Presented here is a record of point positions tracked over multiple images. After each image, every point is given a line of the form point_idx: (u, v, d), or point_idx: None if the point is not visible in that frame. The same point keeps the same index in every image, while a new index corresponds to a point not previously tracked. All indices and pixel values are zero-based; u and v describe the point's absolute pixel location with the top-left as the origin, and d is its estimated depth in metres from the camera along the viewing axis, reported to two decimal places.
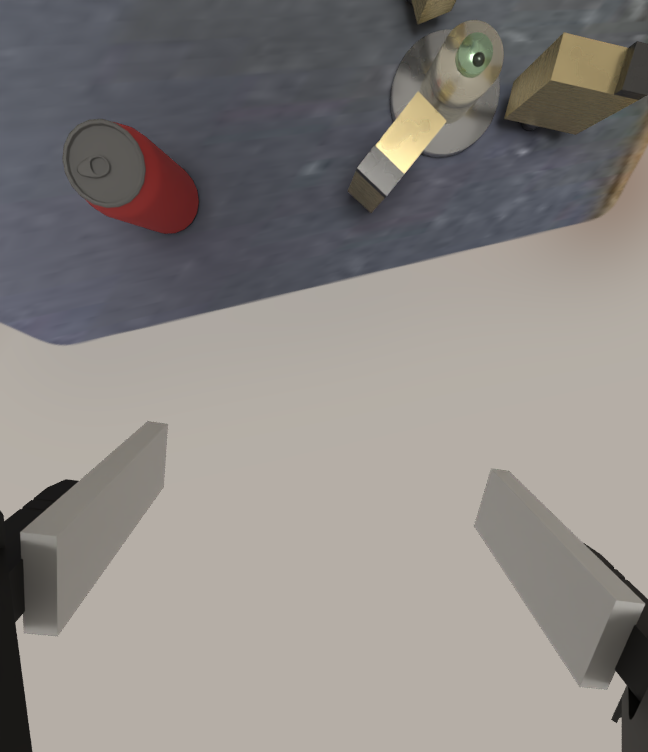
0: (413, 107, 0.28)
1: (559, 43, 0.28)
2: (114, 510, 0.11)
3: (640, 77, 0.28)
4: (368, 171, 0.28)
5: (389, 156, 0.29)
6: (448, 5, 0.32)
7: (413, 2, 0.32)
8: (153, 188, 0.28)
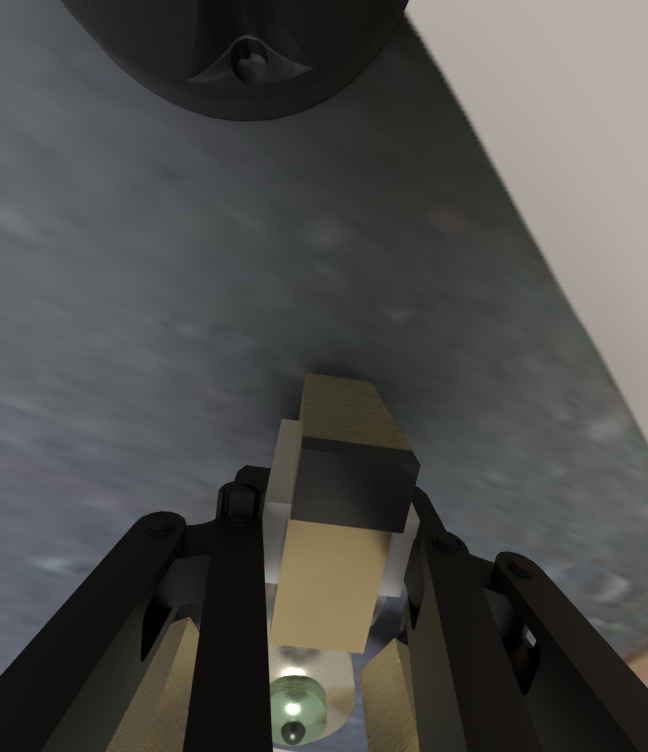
0: None
1: None
2: None
3: None
4: None
5: None
6: None
7: None
8: None
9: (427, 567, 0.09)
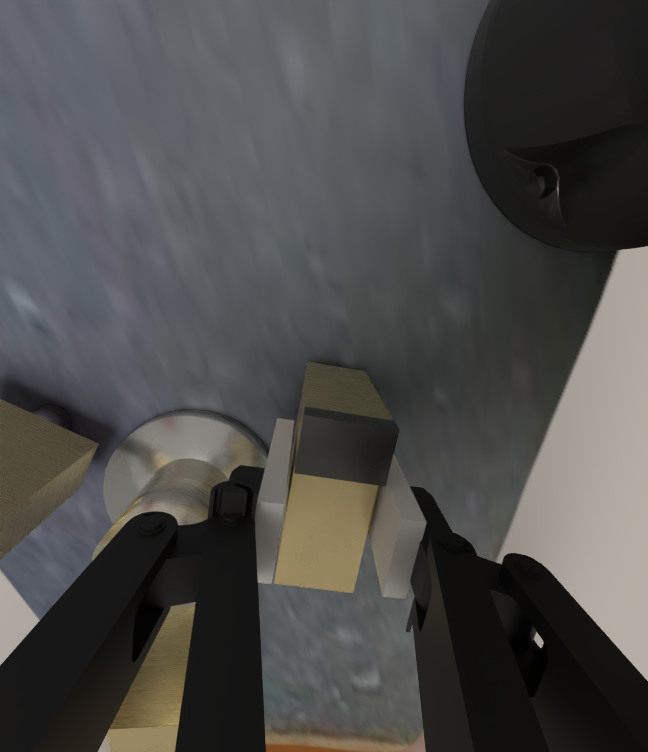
0: None
1: (169, 718, 0.16)
2: None
3: None
4: None
5: None
6: None
7: (290, 460, 0.20)
8: None
9: (434, 568, 0.09)
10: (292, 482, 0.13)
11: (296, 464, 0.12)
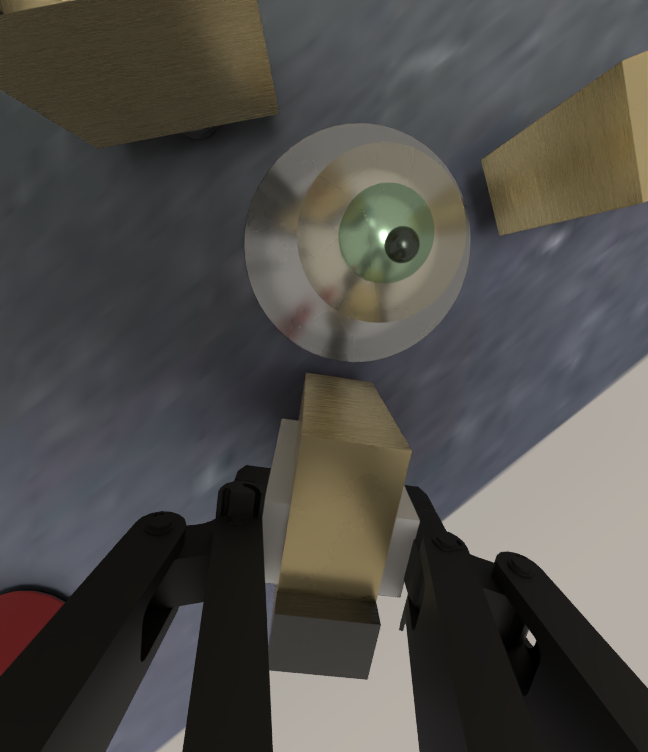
0: (313, 471, 0.10)
1: (615, 93, 0.09)
2: None
3: None
4: (295, 662, 0.11)
5: (322, 583, 0.11)
6: (261, 20, 0.13)
7: (237, 119, 0.14)
8: None
9: (427, 567, 0.09)
10: (44, 5, 0.08)
11: None
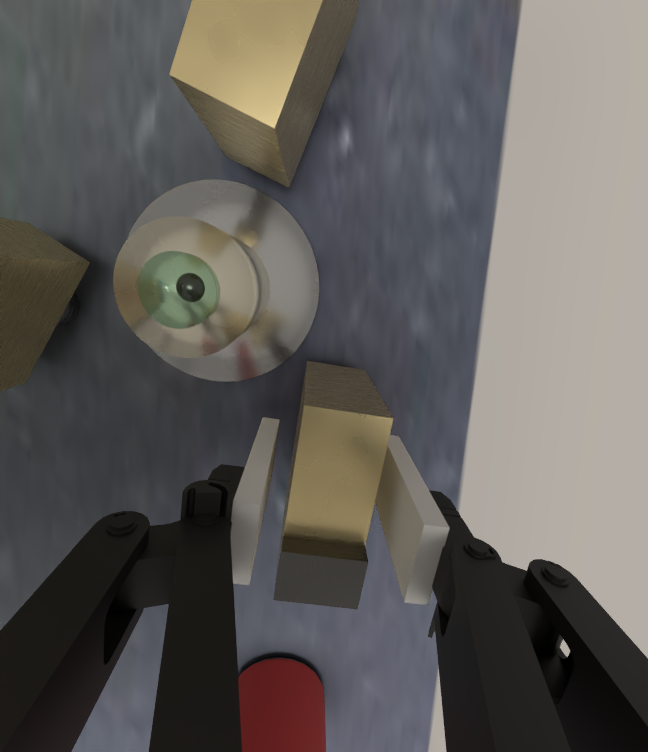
0: (313, 435, 0.13)
1: (191, 89, 0.10)
2: (266, 489, 0.13)
3: None
4: (298, 593, 0.13)
5: (320, 530, 0.14)
6: (24, 228, 0.16)
7: (72, 290, 0.18)
8: None
9: (458, 573, 0.09)
10: None
11: None
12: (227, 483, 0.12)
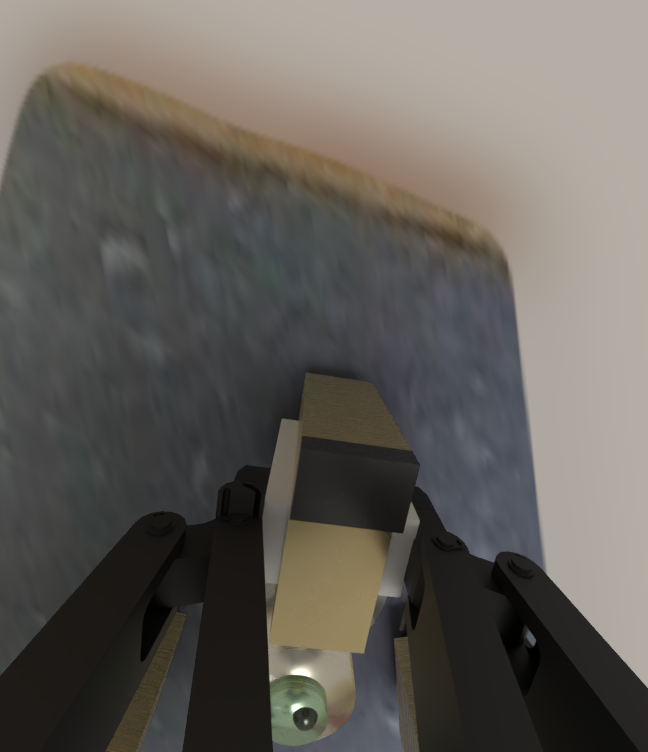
0: None
1: (286, 637, 0.12)
2: None
3: (375, 493, 0.10)
4: None
5: None
6: None
7: None
8: None
9: (427, 567, 0.09)
10: None
11: None
12: None
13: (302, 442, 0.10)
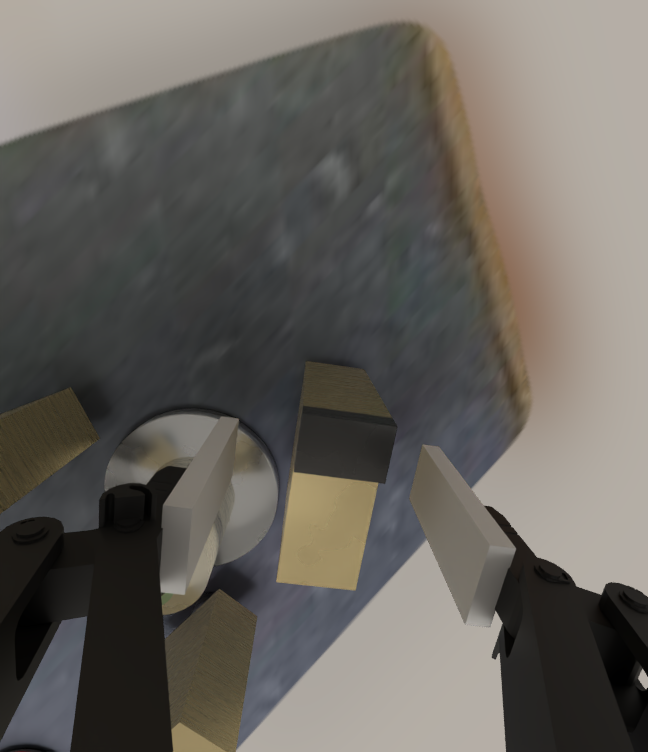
0: (173, 741, 0.16)
1: (290, 577, 0.14)
2: (213, 492, 0.12)
3: (362, 450, 0.12)
4: None
5: None
6: (63, 404, 0.18)
7: None
8: None
9: (526, 593, 0.09)
10: None
11: None
12: (168, 485, 0.12)
13: (303, 409, 0.12)
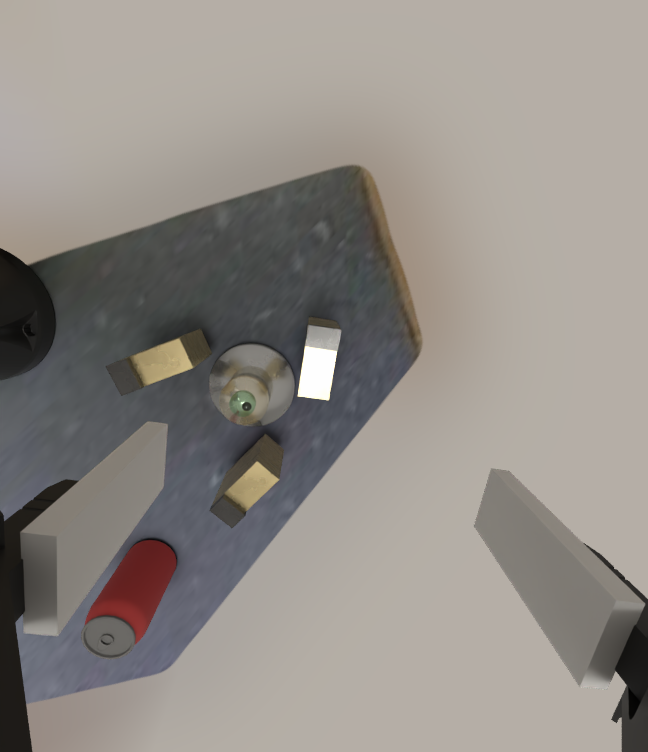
0: (253, 470, 0.38)
1: (303, 395, 0.37)
2: (114, 510, 0.11)
3: (329, 338, 0.35)
4: (218, 513, 0.39)
5: (236, 498, 0.39)
6: (200, 335, 0.41)
7: None
8: (140, 621, 0.41)
9: None
10: (152, 382, 0.36)
11: (137, 389, 0.35)
12: None
13: (308, 324, 0.35)
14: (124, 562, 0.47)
